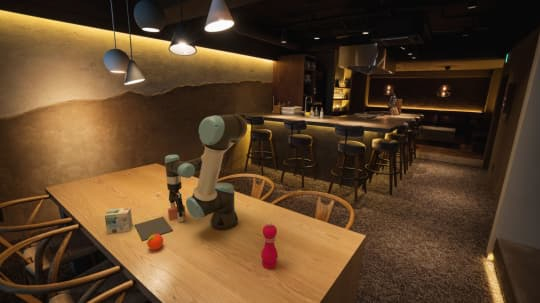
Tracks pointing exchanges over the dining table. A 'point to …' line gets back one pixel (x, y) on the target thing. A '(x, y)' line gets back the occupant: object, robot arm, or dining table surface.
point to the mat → (153, 228)
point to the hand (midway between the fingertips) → (177, 217)
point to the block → (174, 213)
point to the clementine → (155, 241)
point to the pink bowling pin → (269, 247)
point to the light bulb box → (118, 220)
